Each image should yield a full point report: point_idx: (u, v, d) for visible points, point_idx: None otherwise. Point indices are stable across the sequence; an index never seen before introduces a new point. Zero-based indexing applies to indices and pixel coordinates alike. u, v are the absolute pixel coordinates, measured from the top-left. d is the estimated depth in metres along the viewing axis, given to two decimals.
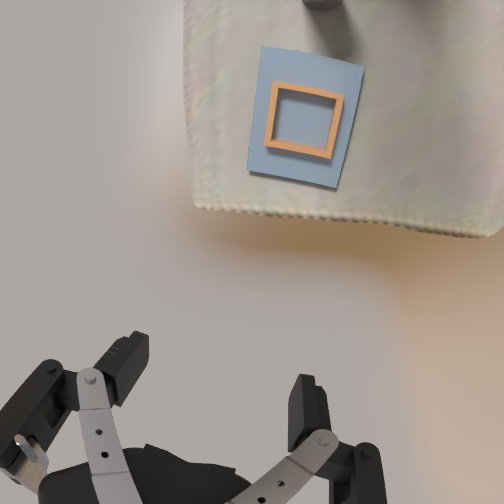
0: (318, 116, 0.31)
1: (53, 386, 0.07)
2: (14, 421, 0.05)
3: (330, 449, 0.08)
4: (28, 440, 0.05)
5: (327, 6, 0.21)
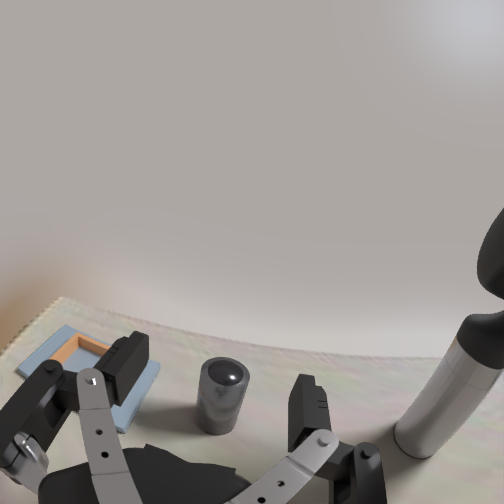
0: None
1: (53, 386, 0.07)
2: (14, 421, 0.05)
3: (330, 449, 0.08)
4: (28, 440, 0.05)
5: (196, 410, 0.28)
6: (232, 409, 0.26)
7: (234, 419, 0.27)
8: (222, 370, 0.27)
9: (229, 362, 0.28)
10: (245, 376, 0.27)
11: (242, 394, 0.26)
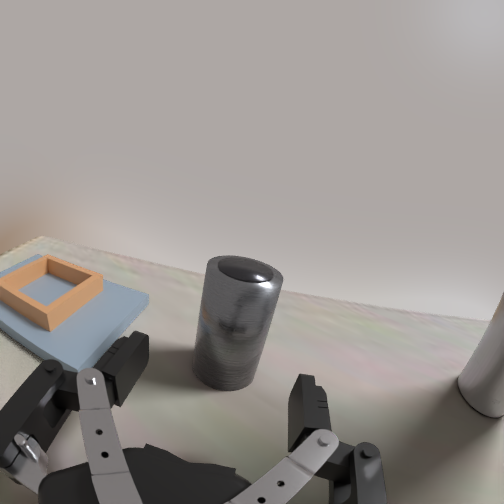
0: None
1: (53, 386, 0.07)
2: (14, 421, 0.05)
3: (330, 449, 0.08)
4: (28, 440, 0.05)
5: (195, 348, 0.20)
6: (254, 333, 0.17)
7: (255, 361, 0.19)
8: (240, 266, 0.18)
9: (250, 261, 0.20)
10: (276, 276, 0.18)
11: (272, 305, 0.18)
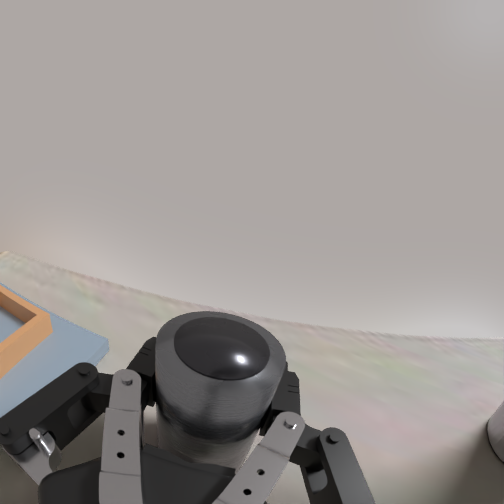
0: None
1: (82, 390, 0.08)
2: (33, 415, 0.06)
3: (295, 431, 0.09)
4: (44, 435, 0.06)
5: None
6: (238, 441, 0.09)
7: (241, 459, 0.11)
8: (213, 339, 0.10)
9: (232, 323, 0.12)
10: (274, 356, 0.10)
11: (267, 404, 0.09)
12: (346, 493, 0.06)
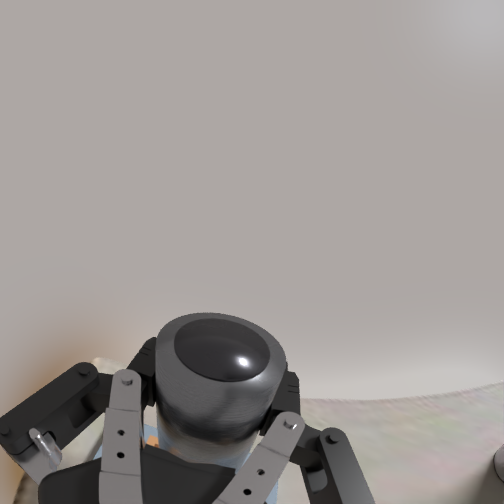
0: None
1: (83, 390, 0.08)
2: (33, 415, 0.06)
3: (295, 431, 0.09)
4: (44, 435, 0.06)
5: None
6: (238, 442, 0.09)
7: (241, 460, 0.11)
8: (214, 341, 0.10)
9: (232, 324, 0.12)
10: (275, 357, 0.10)
11: (267, 406, 0.09)
12: (346, 493, 0.06)
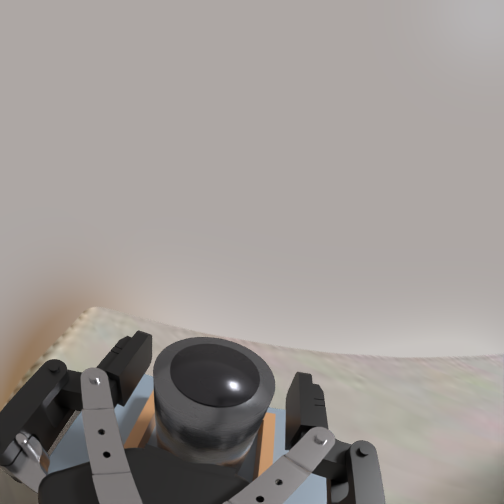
0: None
1: (56, 386, 0.07)
2: (16, 420, 0.05)
3: (326, 447, 0.08)
4: (30, 439, 0.05)
5: None
6: (231, 457, 0.10)
7: (235, 471, 0.11)
8: (207, 367, 0.11)
9: (225, 349, 0.12)
10: (264, 382, 0.11)
11: (257, 426, 0.10)
12: None
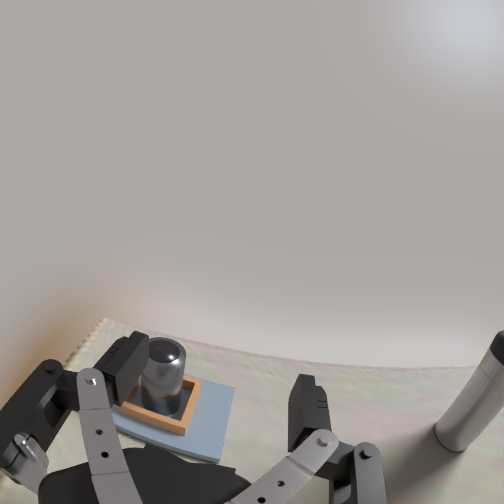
0: None
1: (53, 386, 0.07)
2: (14, 421, 0.05)
3: (330, 449, 0.08)
4: (28, 440, 0.05)
5: None
6: (168, 388, 0.26)
7: (174, 401, 0.28)
8: (160, 348, 0.28)
9: (169, 342, 0.29)
10: (181, 356, 0.28)
11: (177, 374, 0.27)
12: None
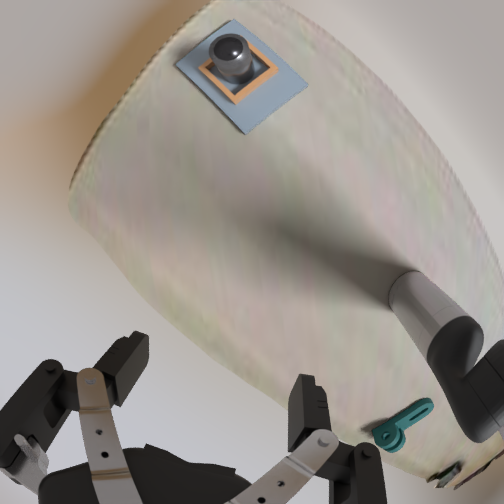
0: None
1: (53, 386, 0.07)
2: (14, 421, 0.05)
3: (330, 449, 0.08)
4: (28, 440, 0.05)
5: None
6: (228, 73, 0.32)
7: (238, 79, 0.34)
8: (226, 46, 0.27)
9: (239, 41, 0.27)
10: (239, 57, 0.28)
11: (234, 68, 0.30)
12: None
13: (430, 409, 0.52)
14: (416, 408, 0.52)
